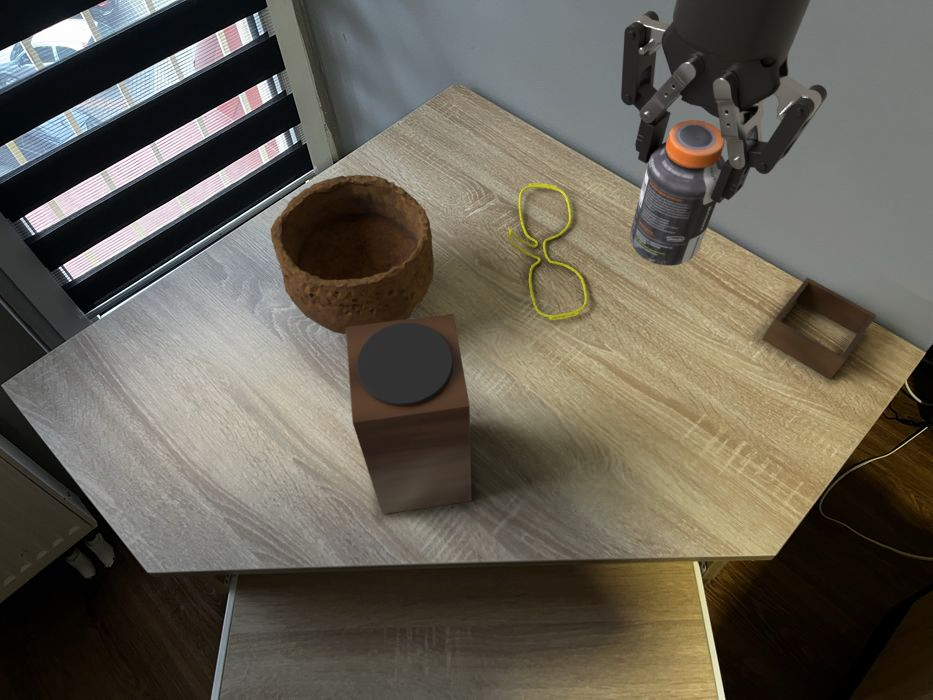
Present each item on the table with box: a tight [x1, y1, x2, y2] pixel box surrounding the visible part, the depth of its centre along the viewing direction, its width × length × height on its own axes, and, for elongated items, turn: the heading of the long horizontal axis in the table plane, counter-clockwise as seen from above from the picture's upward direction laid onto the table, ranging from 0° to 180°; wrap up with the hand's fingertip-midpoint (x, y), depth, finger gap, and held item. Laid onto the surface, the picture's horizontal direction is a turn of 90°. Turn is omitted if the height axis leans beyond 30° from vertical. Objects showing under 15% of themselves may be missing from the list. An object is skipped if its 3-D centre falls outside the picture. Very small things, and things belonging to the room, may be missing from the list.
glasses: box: [507, 182, 588, 321], centre depth 96 cm, size 25×10×5 cm, turn 3°
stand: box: [345, 312, 473, 515], centre depth 71 cm, size 10×10×22 cm
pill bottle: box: [629, 119, 726, 266], centre depth 55 cm, size 6×6×11 cm
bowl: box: [270, 174, 435, 335], centre depth 87 cm, size 19×19×15 cm
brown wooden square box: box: [762, 277, 877, 380], centre depth 88 cm, size 9×9×4 cm
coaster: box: [357, 323, 453, 406], centre depth 61 cm, size 8×8×1 cm
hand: (684, 175), depth 54 cm, fingers closed on pill bottle, 6 cm apart
